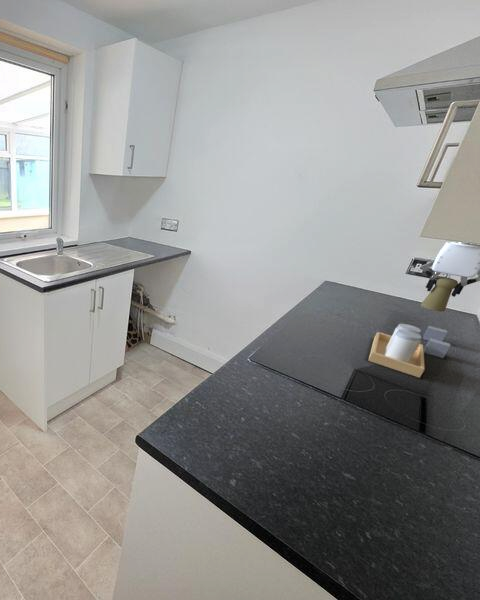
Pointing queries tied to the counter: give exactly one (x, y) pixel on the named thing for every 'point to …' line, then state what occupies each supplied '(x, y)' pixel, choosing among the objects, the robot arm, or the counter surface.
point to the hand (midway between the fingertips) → (440, 292)
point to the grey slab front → (436, 348)
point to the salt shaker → (403, 345)
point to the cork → (440, 294)
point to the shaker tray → (412, 368)
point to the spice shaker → (403, 327)
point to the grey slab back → (434, 333)
